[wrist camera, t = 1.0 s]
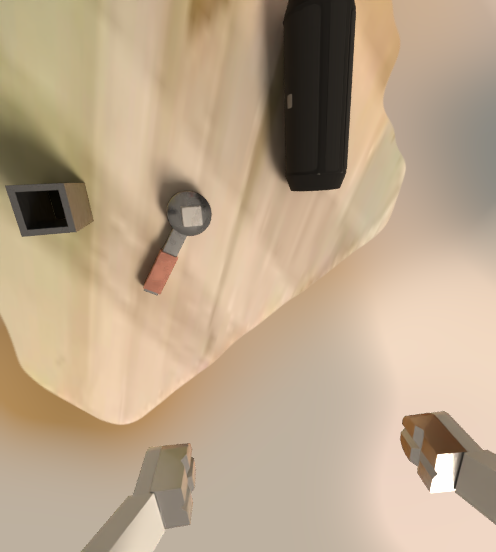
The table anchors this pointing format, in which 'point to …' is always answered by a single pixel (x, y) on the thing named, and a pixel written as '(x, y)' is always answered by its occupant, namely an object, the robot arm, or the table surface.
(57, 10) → the table surface
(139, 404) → the table surface
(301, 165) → the portable speaker
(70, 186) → the square metal cup
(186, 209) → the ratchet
